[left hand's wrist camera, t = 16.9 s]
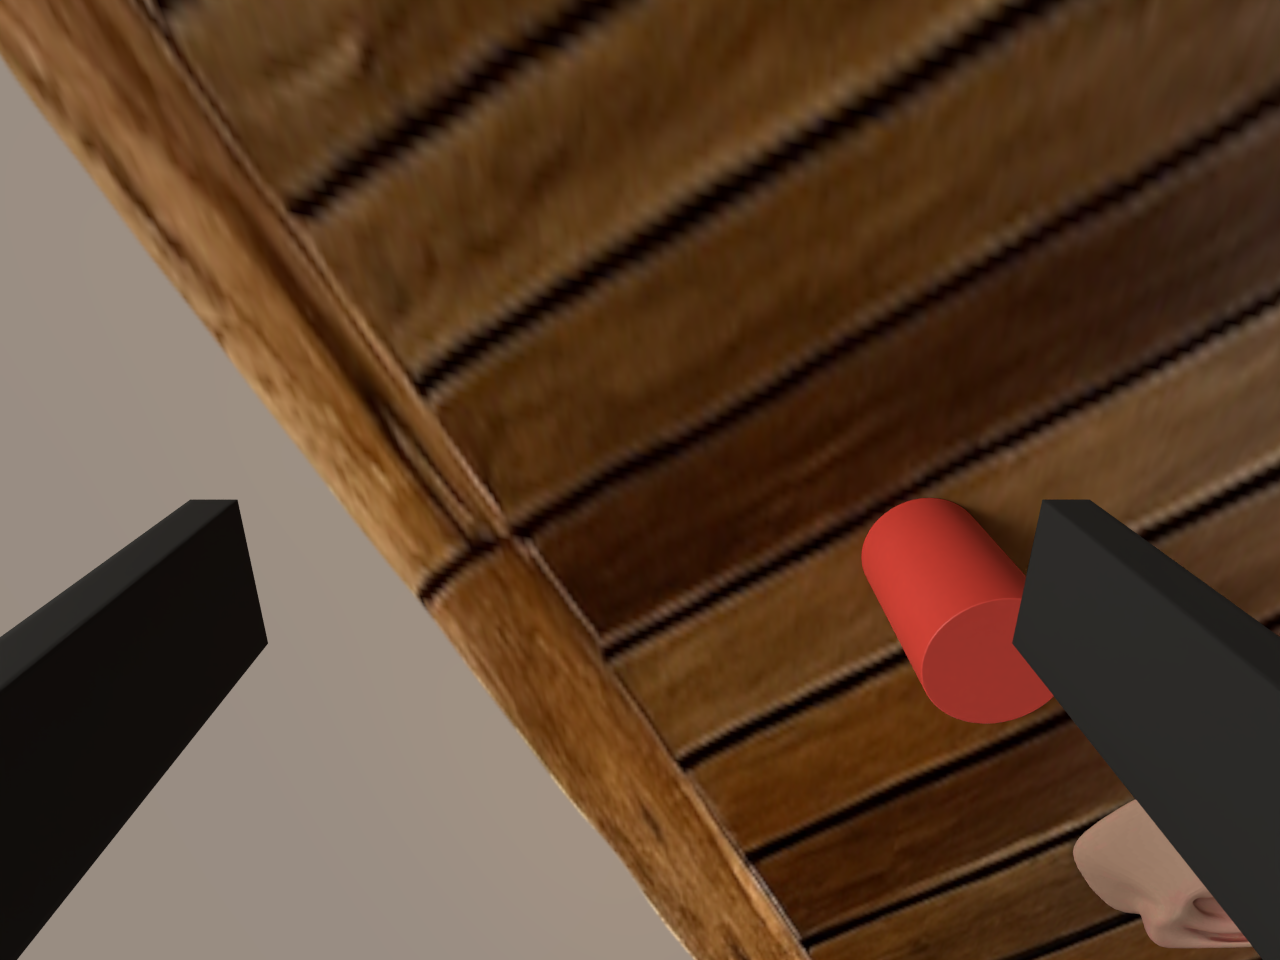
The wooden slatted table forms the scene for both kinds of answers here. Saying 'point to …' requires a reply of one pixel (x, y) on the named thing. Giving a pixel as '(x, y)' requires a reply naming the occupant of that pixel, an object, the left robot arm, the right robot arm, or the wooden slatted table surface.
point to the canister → (953, 609)
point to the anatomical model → (1152, 882)
